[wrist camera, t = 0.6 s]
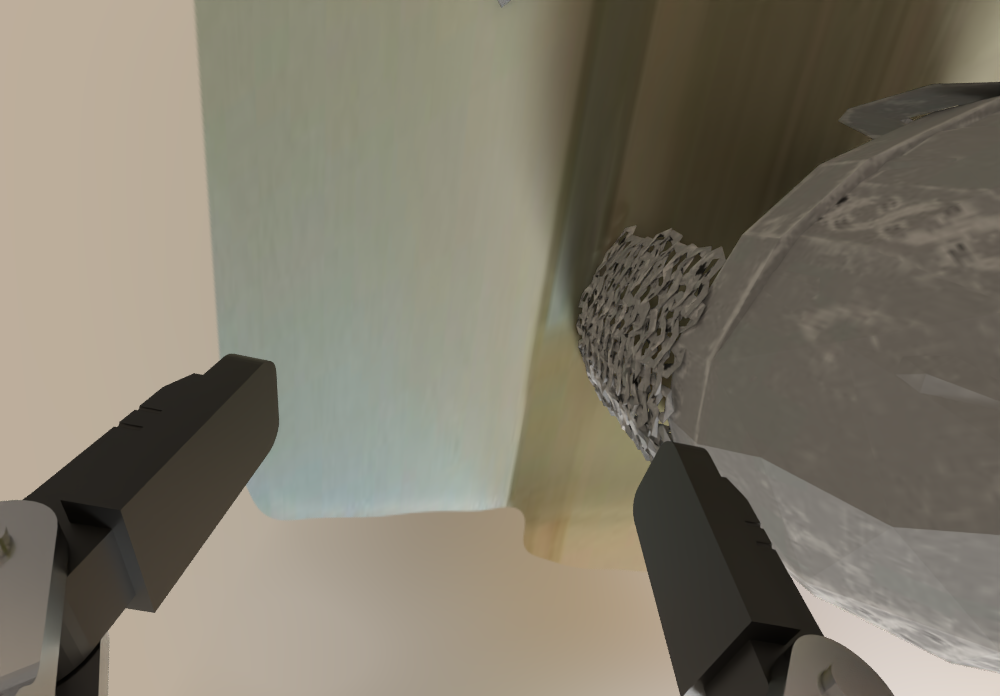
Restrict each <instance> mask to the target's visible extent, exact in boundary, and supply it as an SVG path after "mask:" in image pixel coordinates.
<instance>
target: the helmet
mask: <svg viewBox="0 0 1000 696" xmlns="http://www.w3.org/2000/svg"><path fill="white" fill-rule="evenodd" d="M957 105H958V106H957ZM953 106H956V107H953ZM949 107H952V108H949ZM945 108H948V109H945ZM942 109H944V110H942ZM938 110H939V111H938ZM934 111H935V112H934ZM930 112H932V113H930ZM926 113H930V114H928V115H926V116H924V117H921V118H919V119H917V120H915V121H913V120H912V119H910V118H911V117H915V116H919V115H923V114H926ZM838 121H839V122H841V123H843V124H845V125H847V126H849V127H851V128H853V129H855V130H857V131H859V132H861V133H863V134H865V135H867V136H869V137H871V138H872V139H873V140H872V141H869V142H867V143H865V144H863V145H861V146H859V147H857V148H854V149H852V150H850V151H848V152H846V153H844V154H841V155H839V156H837V157H835V158H833V159H831V160H828V161H826V162H824V163H822V164H820V165H819V166H817V167H816V168H815V169H814V170H813V171H812V172H811V173H810V174H809V175H808V176H806V177H805V178H804V179H803V180H802V181H801V182H800V183H799V184H798V185H796V186H795V187H794V188H793V189H792V190H791V191H790V192H789V193H788V194H787V195H785V196H784V197H783V198H782V199H781V200H780V201H779V202H778V203H777V204H775V205H774V206H773V207H772V208H771V209H770V210H769V211H768V212H767V213H766V214H764V215H763V216H762V217H761V218H760V219H759V220H758V221H757V222H756V223H754V224H753V225H752V226H751V227H750V228H749V229H748V230H747V231H746V232H745V233H743V234H742V236H741V237H740V239H739V241H738V242H737V244H736V246H735V247H734V249H733V250H732V252H731V254H730V255H729V257H728V259H727V260H726V259H725V255H724V252H723V248H722V246H721V247H719V248H717V249H714V250H712V251H711V249H712V246H709V247H701V248H698V247H697V246H696V245H694V244H693V243H692V244H690V245H688V246H687V245H685V244H682V243H680V242H679V241H680V240H681V238H682V237H683V235H681V234H679V233H678V232H676V231H674V230H672V228H671V229H668V230H666V231H664V232H661V233H659V234H657V235H655V237H654V238H653V239H652V238H650V237H648V236H647V237H646V238H641V237H639V236H634V235H633V233H634V230H635V228H636V226H637V225H636V226H631V227H628V228H625V230H624V231H623V232H622V234H621V235H620V237H621V236H623V235H624V234H625V233H626V232H628V234H627V236H626V237H625V238H624V239H623V240H622V242H621V243H620V244H619V245H618V242H619V238H620V237H619V238H618V239H617V241H616V242H615V243H614V244H613V246H612V247H611V248H610V249H609V250H608V251H607V252H606V254H605V257H604V259H603V262H602V264H601V265H600V266H599V267H598V268H597V271H596V274H595V275H594V276H593V279H592V282H591V284H590V285H589V286H588V287H587V288H586V289H585V290H584V292H583V293H582V296H581V299H580V303H579V306H578V307H579V308H582V313H581V314H579V317H578V321H577V325H576V326H577V330H578V333H579V335H582V339H581V340H579V346H578V347H579V350H580V352H581V355H582V357H583V361H584V363H585V366H586V371H587V375H588V378H589V380H590V382H591V383H592V384H593V386H594V387H595V391H596V393H597V395H598V397H599V400H600V401H602V402H603V405H604V406H606V407H607V408H608V410H609V412H610V414H611V415H612V416H616V417H617V419H618V421H619V423H620V425H621V428H622V429H623V430H625V431H626V433H627V434H628V436H629V437H630V438H631V439H632V440H633V441H634V443H635V445H636V447H637V449H638V450H641V451H642V453H643V455H644V457H645V459H646V461H651V462H652V461H653V459H654V457H655V455H656V453H657V451H658V449H659V447H660V446H661V445H662V444H663V443H664V442H665V441H672V442H677V443H682V444H687V445H692V446H697V447H702V448H704V449H706V450H707V451H708V453H709V454H710V456H711V458H712V460H713V462H714V464H715V466H716V468H717V470H718V471H719V473H720V475H721V477H726V478H727V479H728V480H729V481H730V482H731V483H732V484H733V485H734V486H735V487H736V488H737V489H738V490H739V491H740V492H741V493H742V494H743V495H744V497H745V498H746V499H747V500H748V501H749V503H750V505H751V507H752V509H753V510H754V512H755V514H756V516H757V518H758V519H759V521H760V523H761V525H760V527H761V528H763V529H764V530H765V532H766V534H767V535H768V537H769V539H770V541H771V543H772V549H775V550H776V552H777V553H778V555H779V557H780V559H781V561H782V562H783V564H784V566H785V568H786V569H787V571H788V573H789V575H791V576H792V577H793V578H794V579H795V580H796V581H797V582H799V583H800V584H801V585H802V586H803V587H805V588H806V589H807V590H808V591H809V592H810V593H811V594H813V595H814V596H815V597H818V598H819V599H821V600H823V601H825V602H827V603H830V604H831V605H834V606H836V607H838V608H840V609H842V610H844V611H846V612H848V613H850V614H852V615H854V616H856V617H858V618H860V619H862V620H864V621H866V622H868V623H870V624H872V625H874V626H876V627H878V628H880V629H882V630H884V631H886V632H888V633H890V634H892V635H894V636H896V637H898V638H900V639H902V640H904V641H906V642H908V643H910V644H912V645H914V646H916V647H918V648H921V649H923V650H924V651H927V652H928V653H930V654H932V655H935V656H937V657H939V658H941V659H943V660H945V661H947V662H949V663H952V664H957V665H962V666H966V667H971V668H976V669H981V670H986V671H991V672H995V673H1000V82H987V83H952V84H940V83H939V84H931V85H928V86H925V87H921V88H918V89H914V90H911V91H908V92H904V93H901V94H897V95H894V96H890V97H887V98H884V99H880V100H877V101H873V102H870V103H867V104H863V105H860V106H856V107H853V108H849V109H847V111H846V112H845V113H844V114H843V115H842V116H841V118H840V119H839V120H838ZM671 230H672V231H671ZM658 237H665V238H664V239H663V240H658V239H656V238H658ZM629 241H631V243H630V244H629V245H628V246H627V247H626V248H625V249H624V250H623V248H624V247H625V245H626V243H627V242H629ZM667 241H670V242H671V243H672V246H671V247H670V248H669V249H668V250H667V251H664V252H661V251H662V250H663V249H664V247H665V244H666V242H667ZM662 242H663V244H662ZM636 244H637V245H636ZM661 244H662V245H661ZM634 245H636V246H635V247H634ZM642 246H644V247H643V248H642ZM650 246H654V250H653V251H651V252H648V250H649V248H650ZM633 247H634V248H633ZM641 248H642V249H641ZM674 249H675V252H676V254H675V255H674V257H673V258H672V259H671V260H670V261H669V262H668V264H667V265H666V266H665V264H666V261H667V259H668V256H669V254H670V253H671V252H672V251H674ZM622 250H623V251H622ZM630 251H631V252H630ZM610 252H611V254H610V256H609V258H608V260H607V257H608V255H609V253H610ZM621 252H622V253H621ZM629 252H630V255H629V256H628V257H627V259H625V258H626V256H627V255H628V253H629ZM638 252H639V254H638ZM660 252H661V254H660V255H659V253H660ZM685 253H686V258H685V259H684V260H683V261H682V262H681V263H680V264H679V265H678V268H677V270H676V271H675V272H673V273H672V268H673V267H674V266H675V265H676V264H677V263H678V262H679V260H680V258H681V256H682V255H683V254H685ZM620 254H621V255H620ZM637 254H638V256H637V257H636V258H635V259H634V257H635V256H636V255H637ZM697 254H699V255H700V256H701V257H702V258H701V259H700V260H699V261H698V262H697V263H696V264H695V265H694V266H693V267H692V268H691V269H690V271H689V272H688V273H686V274H685V275H684V276H683V273H684V272H685V270H686V269H687V267H688V266H689V265H690V263H691V262H692V260H693V259H694V258H695V256H696V255H697ZM718 258H720V259H719V260H718V261H717V262H716V263H715V264H714V265H713V267H712V268H711V269H710V270H709V271H708V272H707V273H706V274H704V275H702V274H703V273H704V271H705V270H706V268H707V267H708V265H709V264H710V263H711V261H712V260H713V259H718ZM642 260H643V261H642ZM641 261H642V262H641ZM618 263H620V264H619V265H618ZM613 264H614V265H613ZM653 264H654V265H653ZM660 264H662V265H661V266H660V268H658V266H659V265H660ZM604 265H607V268H606V272H605V273H604V275H603V276H599V273H600V272H599V271H600V269H601V268H603V267H604ZM612 265H613V267H612V269H611V270H610V267H611V266H612ZM617 265H618V267H617ZM623 265H624V269H623V271H622V273H621V275H620V272H621V270H622V268H623ZM683 265H684V266H683ZM664 266H665V267H664ZM722 266H723V267H722ZM616 267H617V268H616ZM651 267H652V268H651ZM721 267H722V268H721ZM720 268H721V270H720V272H719V273H718V275H717V276H716V278H715V280H714V281H713V283H712V285H711V286H710V288H709V280H710V279H711V278H712V277H713V276H714V274H715V273H716V272H717V271H718V270H719V269H720ZM615 269H616V270H615ZM650 269H651V270H650ZM614 270H615V271H614ZM649 270H650V271H649ZM631 271H632V273H631V275H630V277H629V278H628V276H629V274H630V272H631ZM648 271H649V273H648ZM653 272H654V273H653ZM647 273H648V274H647ZM652 273H653V274H652ZM671 273H672V274H671ZM607 274H608V277H607V279H606V281H605V284H604V286H603V283H604V279H605V277H606V275H607ZM646 274H647V276H646ZM619 275H620V276H619ZM701 275H702V276H701ZM645 276H646V277H645ZM662 276H663V279H664V281H663V283H662V285H661V287H660V286H658V284H659V278H660V277H662ZM612 280H614V282H613V284H612V286H611V287H610V289H609V291H608V292H607V289H608V287H609V285H610V283H611V281H612ZM672 281H673V282H672ZM671 282H672V285H671V287H670V289H669V291H668V293H667V290H668V286H669V285H670V284H671ZM618 283H619V284H620V287H619V288H618V289H616V287H617V285H618ZM640 283H641V287H640V288H639V290H638V291H637V293H636V294H635V296H634V298H633V295H632V291H633V289H634V288H635V286H636V285H638V284H640ZM628 285H629V286H628ZM680 285H686V287H687V288H686V291H685V292H682V291H680V292H679V293H678V291H679V287H680ZM625 286H628V288H627V291H626V293H625V296H624V298H623V300H621V299H620V295H621V293H622V292H623V291H624V289H625ZM648 286H650V287H651V289H650V292H649V294H648V295H647V296H646V298H644V300H643V301H642V302H641V303H640V301H641V300H640V298H641V296H642V295H643V294H644V293H645V292H646V291H647V287H648ZM602 287H603V288H602ZM698 288H699V289H698ZM615 289H616V291H615ZM697 289H698V295H697V297H696V296H695V295H694V293H695V292H696V290H697ZM614 291H615V292H614ZM586 292H588V293H589V294H588V296H587V298H586V300H585V302H582V300H583V298H584V296H585V294H586ZM592 295H594V301H593V303H592V304H591V305H590V307H588V303H589V302H588V299H589V301H590V299H591V297H592ZM599 295H600V298H599ZM656 295H657V296H658V299H659V300H658V305H657V306H655V307H653V308H651V309H650V304H649V300H650V299H651V298H653V297H654V296H656ZM605 299H606V300H605ZM675 301H676V303H675ZM614 303H615V308H614ZM596 304H597V308H596V311H595V313H594V316H593V311H594V306H595V305H596ZM618 306H619V307H618ZM623 306H624V307H623ZM622 307H623V310H622ZM627 307H628V310H627ZM661 308H662V312H661V316H660V318H659V319H658V320H657V317H658V314H659V312H660V309H661ZM601 309H602V311H603V312H602V313H601V314H600V316H599V318H598V314H599V312H600V311H601ZM626 310H627V312H626ZM669 311H671V312H673V311H674V314H673V317H672V318H670V319H668V320H667V319H666V315H667V313H668V312H669ZM607 314H608V316H607ZM606 316H607V317H606ZM614 316H615V324H612V325H610V322H611V321H612V319H613V318H614ZM605 317H606V322H605V324H604V322H603V320H604V318H605ZM683 317H685V318H690V320H689V322H688V324H687V325H686V326H679V321H681V319H682V318H683ZM580 318H581V319H582V324H581V325H580V320H579V319H580ZM622 319H624V321H625V324H624V325H623V327H622V328H621V330H619V329H618V328H620V326H621V321H622ZM640 319H641V320H640ZM656 320H657V322H656ZM649 322H650V323H649ZM632 325H633V330H632V331H630V332H629V333H627V334H626V332H627V331H628V330H629V329H630V327H631V326H632ZM642 325H643V326H642ZM648 325H649V329H648ZM585 326H586V327H587V332H586V327H585ZM584 327H585V328H584ZM596 327H597V331H596ZM658 327H659V328H661V335H658V336H657V333H656V332H657V330H658ZM647 329H648V330H647ZM602 332H603V335H602ZM668 332H670V333H672V336H671V338H670V337H668V336H667V334H668ZM681 332H682V333H681ZM680 333H681V335H680V337H679V338H678V340H677V341H676V339H677V337H678V335H679V334H680ZM591 334H592V335H591ZM609 334H610V336H609ZM638 334H640V338H641V339H640V340H639V341H638V342H637V344H636V345H635V346H634V337H635V335H638ZM608 338H609V339H608ZM615 339H616V340H617V342H616V341H615V342H614V340H615ZM646 340H647V342H648V343H649V348H646V350H645V353H644V355H642V356H641V351H642V348H643V346H644V344H645V342H646ZM593 341H594V344H593ZM590 344H591V345H590ZM658 345H662V350H661V351H660V352H659V353H658V355H657V357H656V358H655V359H654V360H653V359H652V358H651V357H652V356H653V355H654V354H655V353H656V352H657V351H658ZM608 349H609V351H608ZM650 351H651V352H650ZM671 351H672V352H673V354H674V356H675V358H674V363H673V364H664V362H665V361H666V360H667V359H668V358H669V357H670V352H671ZM591 352H592V353H591ZM616 352H617V354H616V356H615V353H616ZM596 356H597V358H596ZM623 357H625V363H624V361H623ZM602 362H603V363H602ZM622 368H623V371H622ZM651 368H652V374H651ZM615 373H616V377H615V376H614V374H615ZM631 373H632V375H631ZM655 373H657V376H656V374H655ZM671 374H672V381H671V389H669V388H668V387H666V386H664V385H662V384H661V382H662V376H663V377H665V378H668V377H669V376H670V375H671ZM630 375H631V376H630ZM639 376H641V382H640V377H639ZM622 380H623V384H622ZM649 384H651V385H652V393H651V395H650V397H649V399H648V394H649V393H650V392H651V389H650V385H649ZM630 391H631V394H632V396H630ZM663 396H664V397H665V398H666V402H665V410H664V412H661V413H660V412H659V409H658V407H657V406H658V404H659V402H660V401H661V399H662V397H663ZM654 398H655V400H654ZM648 409H649V412H648ZM635 414H637V416H636V415H635ZM667 418H668V422H669V426H666V425H664V424H658V422H659V420H660V421H661V422H662V423H664V422H665V421H666V420H667ZM670 430H671V431H670ZM669 432H671V433H669Z"/></svg>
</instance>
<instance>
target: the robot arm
mask: <svg viewBox="0 0 1000 696" xmlns="http://www.w3.org/2000/svg"><path fill="white" fill-rule="evenodd" d="M278 427H279V413H278V395H277V377H276V368H275V365H274V363H273V362H271V361H267V360H262V359H257V358H252V357H247V356H242V355H237V354H228V355H226V356H225V357H223V358H222V359H221V360H220V361H219V362H217V363H216V364H215V365H214V366H213V367H212V368H211V369H210V370H208V371H207V372H206V373H205V374H204V375H200V374H195V373H194V374H192V375H189V376H187V377H185V378H182V379H180V380H178V381H175V382H173V383H171V384H169V385H166V386H164V387H162V388H161V389H160V390H159V391H158V392H156V393H155V394H154V395H153V396H151V397H150V398H149V399H148V400H146V401H145V402H144V403H143V404H141V405H140V407H139V410H134V411H133V412H131V413H130V414H129V415H128V416H127V417H125V418H124V419H123V420H122V421H120V423H119V426H118V427H113V428H112V429H110V430H109V431H108V432H107V433H106V434H104V435H103V436H102V437H101V438H99V439H98V440H97V441H96V442H94V443H93V444H92V445H91V446H90V447H88V448H87V449H86V450H84V451H83V452H82V453H81V454H79V455H78V456H77V457H76V458H75V459H73V460H72V461H71V462H70V463H68V464H67V465H66V466H65V467H63V468H62V469H61V470H60V471H58V472H57V473H56V474H55V475H54V476H52V477H51V478H50V479H49V480H47V481H46V482H45V483H44V484H42V485H41V486H40V487H39V488H37V489H36V490H35V491H34V492H32V493H31V494H30V495H28V496H27V497H26V498H24V499H23V500H11V501H1V502H0V696H108V673H109V671H108V670H109V634H108V630H109V628H110V627H111V626H112V625H113V624H114V622H115V621H116V619H117V618H118V617H119V616H120V614H121V613H122V612H123V611H124V609H125V608H128V609H135V610H141V611H147V612H153V613H155V612H156V610H157V609H158V607H159V606H160V605H161V603H162V602H163V600H164V599H165V598H166V596H167V595H168V593H169V592H170V591H171V589H172V588H173V586H174V585H175V584H176V582H177V581H178V579H179V578H180V577H181V575H182V574H183V572H184V571H185V569H186V568H187V567H188V565H189V564H190V563H191V561H192V560H193V558H194V557H195V555H196V554H197V553H198V551H199V550H200V548H201V547H202V545H203V544H204V543H205V541H206V540H207V539H208V537H209V536H210V534H211V533H212V532H213V530H214V529H215V527H216V526H217V525H218V523H219V522H220V520H221V519H222V518H223V516H224V515H225V513H226V512H227V511H228V509H229V508H230V506H231V505H232V504H233V502H234V501H235V499H236V498H237V497H238V495H239V494H240V492H241V491H242V489H243V488H244V487H245V485H246V484H247V483H248V481H249V480H250V478H251V477H252V476H253V474H254V473H255V471H256V470H257V468H258V467H259V466H260V464H261V463H262V461H263V460H264V459H265V457H266V456H267V454H268V453H269V451H270V450H271V448H272V446H273V444H274V441H275V439H276V436H277V432H278ZM633 516H634V522H635V525H636V529H637V533H638V537H639V541H640V544H641V548H642V552H643V556H644V560H645V563H646V567H647V571H648V575H649V578H650V582H651V586H652V589H653V593H654V597H655V601H656V605H657V609H658V612H659V616H660V620H661V623H662V628H663V631H664V635H665V639H666V643H667V646H668V650H669V654H670V658H671V662H672V666H673V669H674V673H675V677H676V681H677V685H678V688H679V692H680V695H681V696H894V695H893V693H892V692H891V690H890V689H889V688H888V686H887V685H886V684H885V683H884V681H883V680H882V679H881V678H880V677H879V675H878V674H877V673H876V672H875V671H874V670H873V669H872V668H871V667H870V666H869V665H868V664H867V663H866V662H864V661H863V660H862V659H861V658H860V657H859V656H857V655H856V654H855V653H853V652H852V651H851V650H849V649H848V648H846V647H845V646H843V645H841V644H840V643H838V642H836V641H834V640H832V639H829V638H826V637H824V635H823V634H822V632H821V630H820V629H819V627H818V625H817V623H816V622H815V620H814V618H813V616H812V614H811V612H810V611H809V609H808V607H807V605H806V604H805V602H804V600H803V598H802V596H801V595H800V593H799V591H798V589H797V587H796V586H795V584H794V582H793V580H792V578H791V577H790V575H789V573H788V571H787V569H786V568H785V566H784V564H783V562H782V561H781V559H780V557H779V555H778V553H777V552H776V550H775V549H772V543H771V541H770V539H769V537H768V535H767V534H766V532H765V530H764V529H763V528H761V527H760V525H761V523H760V521H759V519H758V518H757V516H756V514H755V512H754V510H753V509H752V507H751V505H750V503H749V501H748V500H747V499H746V498H745V497H744V495H743V494H742V493H741V492H740V491H739V490H738V489H737V488H736V487H735V486H734V485H733V484H732V483H731V482H730V481H729V480H728V479H727V478H726V477H721V475H720V473H719V471H718V470H717V468H716V466H715V464H714V462H713V460H712V458H711V456H710V454H709V453H708V451H707V450H706V449H704V448H702V447H697V446H692V445H687V444H682V443H677V442H672V441H665V442H664V443H663V444H662V445H661V446H660V447H659V449H658V451H657V453H656V455H655V457H654V459H653V461H652V462H651V464H650V466H649V468H648V470H647V472H646V474H645V476H644V478H643V479H642V481H641V483H640V485H639V487H638V489H637V491H636V494H635V498H634V504H633Z"/></svg>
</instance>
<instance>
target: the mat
mask: <svg viewBox="0 0 1000 696" xmlns="http://www.w3.org/2000/svg"><path fill="white" fill-rule="evenodd" d="M509 1H510V0H498V2H499V4H500V6H501V8H502V7H503V6H504V5H505V4H507V3H508V2H509Z"/></svg>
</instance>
